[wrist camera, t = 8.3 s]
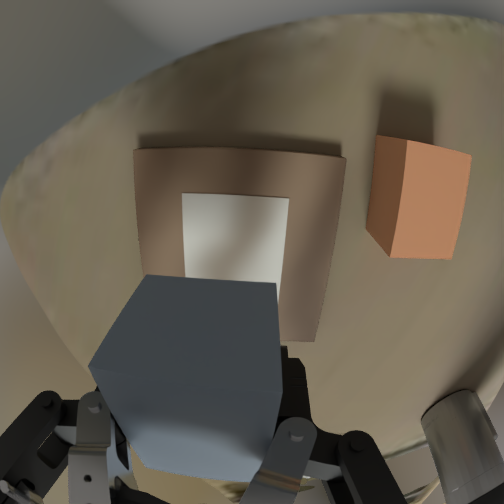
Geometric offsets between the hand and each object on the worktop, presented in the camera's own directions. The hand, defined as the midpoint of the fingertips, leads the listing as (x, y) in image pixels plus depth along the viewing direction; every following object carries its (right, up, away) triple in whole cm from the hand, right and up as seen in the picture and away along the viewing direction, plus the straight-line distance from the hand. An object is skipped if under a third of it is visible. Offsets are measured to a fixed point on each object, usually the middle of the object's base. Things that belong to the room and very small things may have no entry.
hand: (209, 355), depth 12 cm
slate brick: (0, 0, 0) cm, 0 cm away
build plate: (+1, +4, +10) cm, 11 cm away
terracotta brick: (+13, +9, +7) cm, 17 cm away
